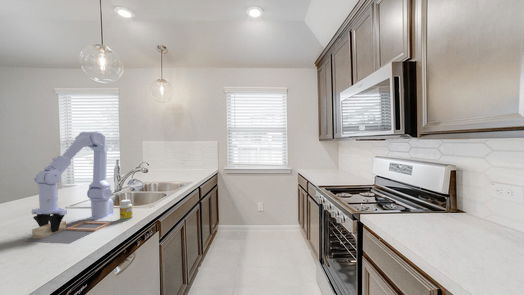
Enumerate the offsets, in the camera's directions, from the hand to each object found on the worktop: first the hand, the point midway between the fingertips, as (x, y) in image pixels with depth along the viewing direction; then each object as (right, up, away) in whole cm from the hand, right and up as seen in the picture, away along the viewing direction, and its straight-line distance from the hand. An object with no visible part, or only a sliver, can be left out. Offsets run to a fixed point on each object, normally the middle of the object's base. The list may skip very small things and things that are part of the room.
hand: (50, 231), depth 96 cm
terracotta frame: (+11, -1, +7) cm, 13 cm away
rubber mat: (+8, -1, +3) cm, 9 cm away
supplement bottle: (+22, -1, +18) cm, 28 cm away
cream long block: (0, -1, 0) cm, 1 cm away
